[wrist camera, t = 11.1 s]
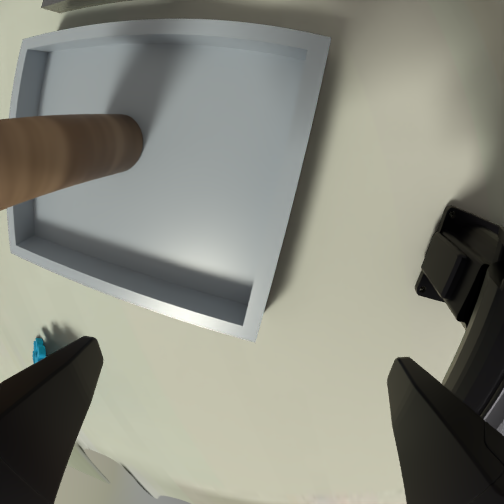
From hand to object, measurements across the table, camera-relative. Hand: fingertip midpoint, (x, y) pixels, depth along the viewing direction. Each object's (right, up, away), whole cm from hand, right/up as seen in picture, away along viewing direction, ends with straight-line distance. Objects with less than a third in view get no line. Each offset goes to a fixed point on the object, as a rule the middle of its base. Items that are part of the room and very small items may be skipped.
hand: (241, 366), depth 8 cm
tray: (-8, +10, +11) cm, 17 cm away
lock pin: (-9, +10, +10) cm, 17 cm away
